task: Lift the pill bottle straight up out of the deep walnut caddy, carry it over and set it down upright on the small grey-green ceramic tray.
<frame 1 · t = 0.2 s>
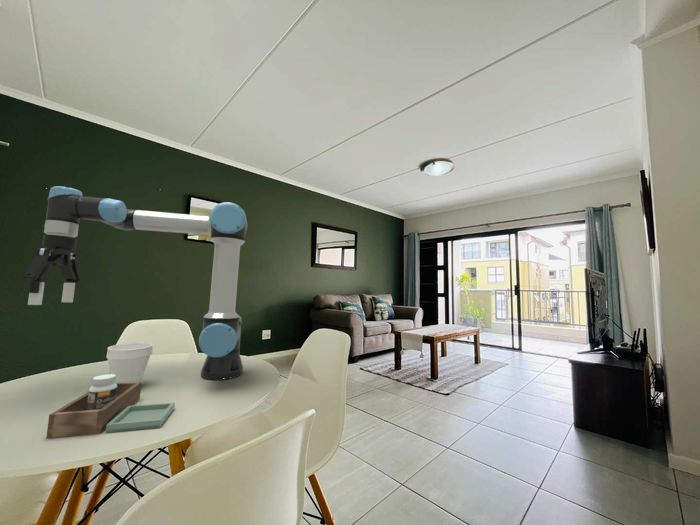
hand: (52, 303, 87), 28 cm above the table, fingers open, 13 cm apart
caddy: (100, 415, 74), on the table
pill bottle: (100, 416, 74), resting in caddy
white flower pot: (126, 388, 94), on the table
tray: (143, 419, 72), on the table
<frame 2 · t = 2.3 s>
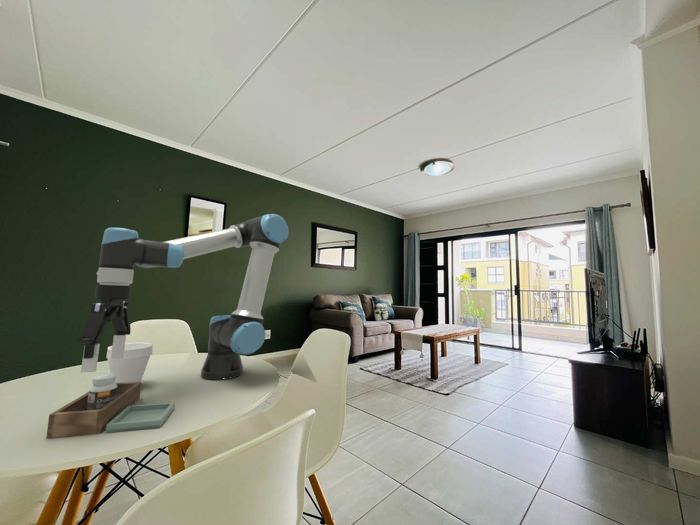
hand: (104, 364, 75), 13 cm above the table, fingers open, 13 cm apart
nothing on the table moved.
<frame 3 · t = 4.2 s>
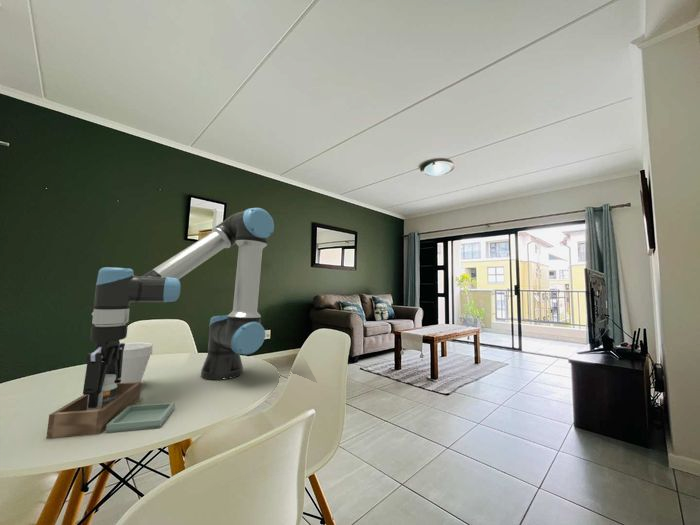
hand: (100, 414, 74), 0 cm above the table, fingers closed on pill bottle, 6 cm apart
pill bottle: (100, 416, 74), resting in caddy, touching gripper
everything else where it was.
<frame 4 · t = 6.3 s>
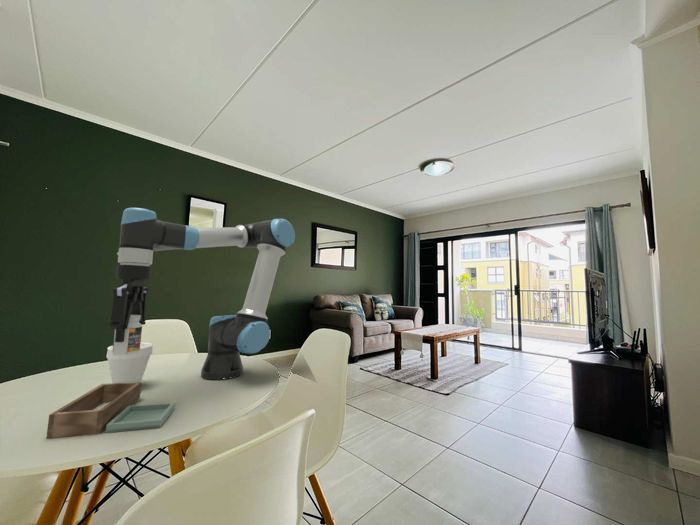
hand: (126, 351, 75), 17 cm above the table, fingers closed on pill bottle, 6 cm apart
pill bottle: (126, 354, 75), point 16 cm above the table, touching gripper
everything else where it was.
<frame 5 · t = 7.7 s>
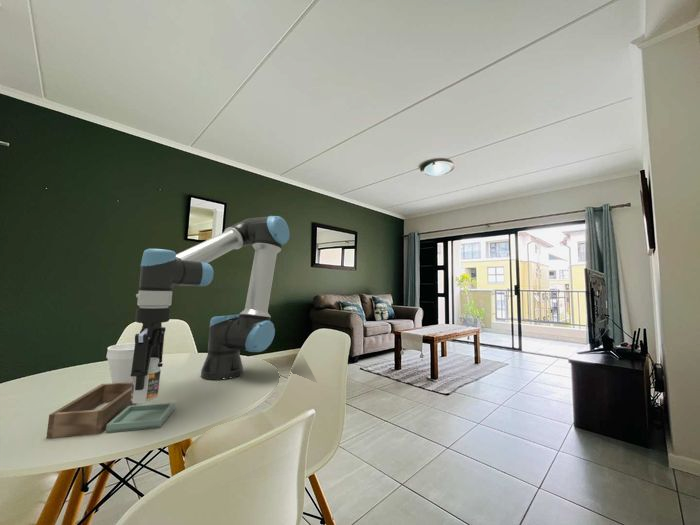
hand: (144, 397, 73), 6 cm above the table, fingers closed on pill bottle, 6 cm apart
pill bottle: (144, 399, 72), point 5 cm above the table, touching gripper
everything else where it was.
when the fingers open (2 cm above the table, at t = 8.7 s): pill bottle stays where it is, resting on tray.
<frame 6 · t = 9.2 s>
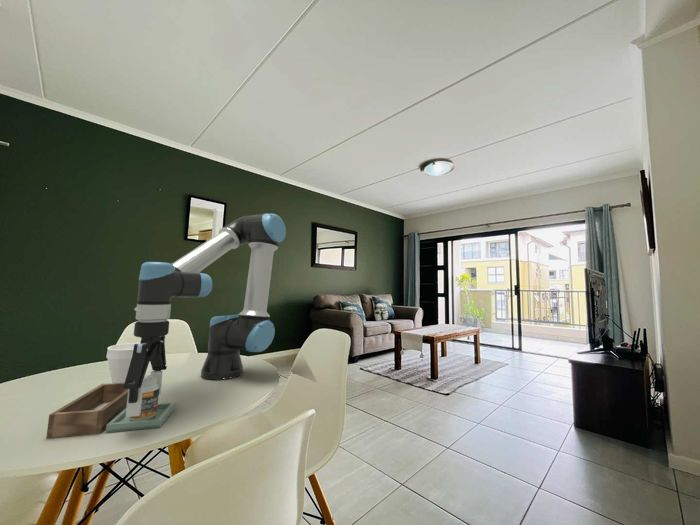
hand: (144, 404, 73), 4 cm above the table, fingers open, 12 cm apart
pill bottle: (143, 417, 72), resting on tray
everything else where it was.
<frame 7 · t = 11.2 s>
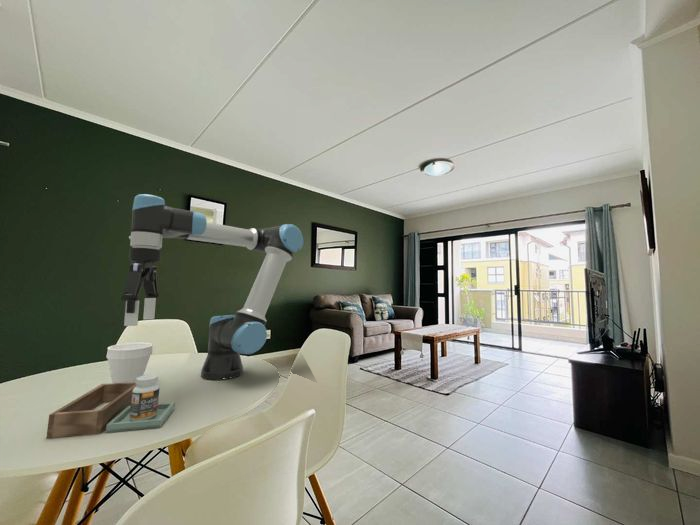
hand: (140, 322, 80), 24 cm above the table, fingers open, 13 cm apart
nothing on the table moved.
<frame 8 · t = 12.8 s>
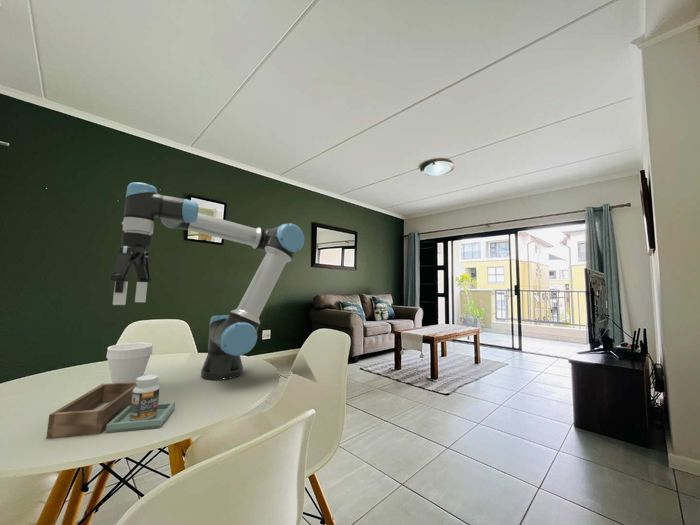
hand: (130, 303, 84), 29 cm above the table, fingers open, 13 cm apart
nothing on the table moved.
at the end: pill bottle inside the target area on the tray (0.1 cm from its centre), point 0.4 cm above the tray's base; pill bottle tilted 0°; the gripper is holding nothing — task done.
